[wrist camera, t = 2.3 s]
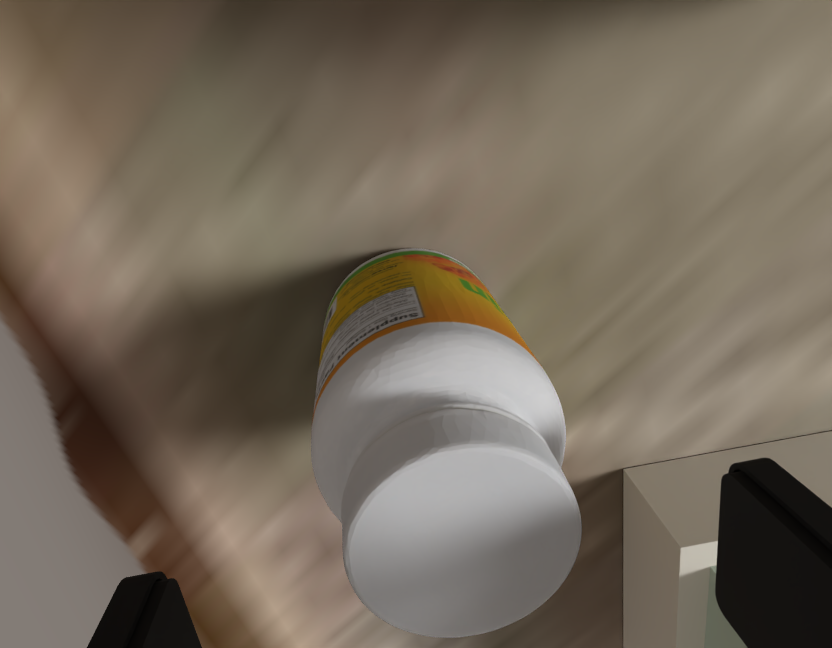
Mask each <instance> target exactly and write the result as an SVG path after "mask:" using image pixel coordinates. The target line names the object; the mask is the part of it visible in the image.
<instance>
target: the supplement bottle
mask: <svg viewBox="0 0 832 648" xmlns="http://www.w3.org/2000/svg"><path fill="white" fill-rule="evenodd" d="M565 443H566V428H565V420H564V415H563V410H562V407H561V404H560V400H559V398H558V395H557V393H556V391H555V388H554V387H553V385H552V383H551V381H550V380H549V378H548V376H547V374H546V372H545V371H544V369H543V367H542V366H541V365H540V363H539V362H538V361H537V359H536V358H535V356H534V355H533V353H532V352H531V351H530V349H529V348H528V346H527V345H526V343H525V342H524V341H523V339H522V338H521V336H520V335H519V333H518V332H517V331H516V329H515V328H514V326H513V325H512V323H511V321H510V320H509V319H508V318H507V316H506V315H505V314H504V312H503V311H502V310H501V308H500V307H499V305H498V304H497V302H496V301H495V300H494V298H493V297H492V295H491V294H490V292H489V291H488V290H487V288H486V287H485V285H484V284H483V283H482V282H481V281H480V279H479V278H478V277H477V276H476V275H475V274H474V273H473V272H472V271H471V270H470V269H469V268H468V267H467V266H465V265H464V264H463V263H461V262H460V261H458V260H456V259H454V258H453V257H451V256H448V255H446V254H443V253H440V252H437V251H433V250H428V249H420V248H408V249H399V250H394V251H390V252H387V253H383V254H381V255H378V256H376V257H374V258H371V259H370V260H368V261H366V262H364V263H363V264H361V265H360V266H358V267H357V268H356V269H355V270H353V271H352V272H351V273H350V274H349V275H348V276H347V277H346V278H345V279H344V281H343V282H342V283H341V285H340V286H339V288H338V289H337V290H336V292H335V294H334V296H333V298H332V300H331V302H330V305H329V308H328V310H327V314H326V318H325V322H324V328H323V337H322V346H321V354H320V362H319V370H318V376H317V387H316V396H315V404H314V413H313V420H312V431H311V457H312V466H313V471H314V475H315V479H316V482H317V484H318V487H319V489H320V492H321V494H322V496H323V497H324V499H325V501H326V503H327V505H328V506H329V508H330V509H331V511H332V512H333V513H334V515H335V516H336V517H337V518H338V519H339V520H340V522H341V523H342V533H343V560H344V566H345V570H346V574H347V576H348V579H349V581H350V583H351V585H352V587H353V589H354V591H355V593H356V595H357V596H358V597H359V599H360V600H361V602H362V603H363V604H364V605H365V606H366V607H367V608H368V609H369V610H370V611H371V612H373V613H374V614H375V615H376V616H377V617H379V618H381V619H382V620H384V621H385V622H387V623H388V624H390V625H392V626H394V627H397V628H399V629H402V630H404V631H407V632H410V633H414V634H418V635H423V636H429V637H438V638H457V637H466V636H473V635H479V634H484V633H487V632H491V631H494V630H497V629H500V628H502V627H505V626H507V625H510V624H512V623H514V622H516V621H518V620H520V619H522V618H524V617H525V616H527V615H528V614H530V613H532V612H533V611H535V610H536V609H537V608H538V607H540V606H541V605H542V604H544V603H545V602H546V601H547V600H548V599H549V598H550V597H551V596H552V595H553V594H554V593H555V592H556V591H557V590H558V589H559V587H560V586H561V585H562V583H563V582H564V580H565V579H566V578H567V576H568V574H569V573H570V571H571V569H572V567H573V565H574V563H575V560H576V557H577V555H578V551H579V547H580V542H581V534H582V522H581V515H580V510H579V506H578V503H577V500H576V498H575V495H574V493H573V490H572V489H571V487H570V485H569V483H568V481H567V479H566V477H565V475H564V473H563V471H562V469H561V467H562V463H563V459H564V452H565Z"/></svg>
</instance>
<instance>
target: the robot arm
mask: <svg viewBox="0 0 832 648" xmlns="http://www.w3.org/2000/svg"><path fill="white" fill-rule="evenodd" d="M715 596H716V600H717V603H718V606H719V608H720V610H721V612H722V614H723V615H724V617H725V618H726V620H727V621H728V622H729V624H730V625H731V626H732V628H733V629H734V630H735V632H736V633H737V634H738V636H739V637H740V638H741V640H742V641H743V642H744V644H745V645H746V646H747V648H832V507H830V506H829V505H828V504H827V503H825V502H824V501H823V500H822V499H820V498H819V497H818V496H817V495H816V494H814V493H813V492H812V491H811V490H809V489H808V488H807V487H806V486H804V485H803V484H802V483H801V482H800V481H798V480H797V479H796V478H795V477H793V476H792V475H791V474H790V473H788V472H787V471H786V470H785V469H784V468H782V467H781V466H780V465H779V464H777V463H776V462H775V461H773V460H772V459H770V458H765V457H764V458H759V459H754V460H748V461H743V462H738V463H734V464H732V465H731V466H730V468H729V472H728V473H727V474H724V475H723V476H722V479H721V491H720V510H719V528H718V547H717V565H716V583H715ZM87 648H202V647H201V644H200V641H199V639H198V636H197V633H196V631H195V628H194V625H193V623H192V620H191V617H190V614H189V612H188V609H187V606H186V604H185V601H184V598H183V596H182V593H181V590H180V587H179V585H178V583H177V581H176V580H175V579H174V578H171V579H167V578H166V576H165V574H164V573H163V572H153V573H148V574H142V575H137V576H132V577H126V578H124V579H123V580H121V582H120V583H119V585H118V586H117V589H116V591H115V593H114V594H113V597H112V599H111V601H110V603H109V605H108V607H107V609H106V611H105V613H104V615H103V617H102V619H101V621H100V623H99V625H98V627H97V629H96V631H95V633H94V635H93V637H92V639H91V641H90V643H89V645H88V647H87Z"/></svg>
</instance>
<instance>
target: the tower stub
mask: <svg viewBox="0 0 832 648" xmlns="http://www.w3.org/2000/svg"><path fill="white" fill-rule="evenodd" d="M764 457H765V458H770V459H772V460H773V461H775V462H776V463H777V464H779V465H780V466H781V467H782V468H784V469H785V470H786V471H787V472H788V473H790V474H791V475H792V476H793V477H795V478H796V479H797V480H798V481H800V482H801V483H802V484H803V485H804V486H806V487H807V488H808V489H809V490H811V491H812V492H813V493H814V494H816V495H817V496H818V497H819V498H820V499H822V500H823V501H824V502H825V503H827V504H828V505H829V506H830V507H832V431H828V432H823V433H818V434H812V435H807V436H801V437H796V438H790V439H785V440H779V441H774V442H768V443H763V444H757V445H752V446H747V447H741V448H736V449H730V450H725V451H719V452H714V453H708V454H703V455H697V456H692V457H687V458H681V459H676V460H670V461H665V462H659V463H654V464H648V465H643V466H637V467H632V468H626V469H623V648H747V646H746V645H745V644H744V642H743V641H742V640H741V638H740V637H739V636H738V634H737V633H736V632H735V630H734V629H733V628H732V626H731V625H730V624H729V622H728V621H727V620H726V618H725V617H724V615H723V614H722V612H721V610H720V608H719V606H718V603H717V600H716V596H715V583H716V565H717V547H718V528H719V510H720V491H721V479H722V476H723V475H724V474H727V473H728V472H729V468H730V466H731V465H732V464H734V463H738V462H743V461H748V460H754V459H759V458H764Z"/></svg>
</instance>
